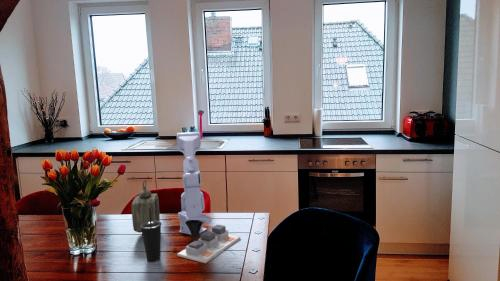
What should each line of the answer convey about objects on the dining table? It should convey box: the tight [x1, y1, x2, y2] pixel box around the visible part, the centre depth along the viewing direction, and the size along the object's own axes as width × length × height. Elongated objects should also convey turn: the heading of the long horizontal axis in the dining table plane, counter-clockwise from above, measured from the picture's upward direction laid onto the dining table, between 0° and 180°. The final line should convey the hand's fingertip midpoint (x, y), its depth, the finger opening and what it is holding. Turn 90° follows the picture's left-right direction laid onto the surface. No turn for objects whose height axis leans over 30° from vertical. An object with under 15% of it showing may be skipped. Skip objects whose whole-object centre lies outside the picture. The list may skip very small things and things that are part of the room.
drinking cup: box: [140, 208, 163, 263], centre depth 144 cm, size 8×8×20 cm
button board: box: [177, 229, 241, 264], centre depth 154 cm, size 13×24×4 cm, turn 149°
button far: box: [211, 224, 227, 234], centre depth 160 cm, size 4×4×3 cm
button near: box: [188, 240, 204, 249], centre depth 148 cm, size 4×4×3 cm
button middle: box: [200, 230, 215, 241], centre depth 154 cm, size 4×4×3 cm
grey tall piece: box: [131, 178, 161, 238], centre depth 165 cm, size 14×9×25 cm, turn 6°
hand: (195, 238), depth 147 cm, fingers closed
